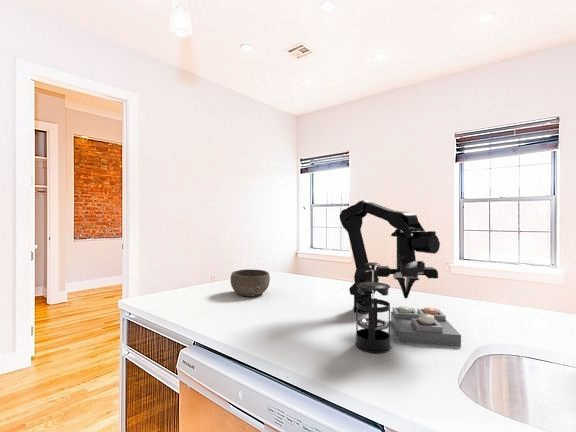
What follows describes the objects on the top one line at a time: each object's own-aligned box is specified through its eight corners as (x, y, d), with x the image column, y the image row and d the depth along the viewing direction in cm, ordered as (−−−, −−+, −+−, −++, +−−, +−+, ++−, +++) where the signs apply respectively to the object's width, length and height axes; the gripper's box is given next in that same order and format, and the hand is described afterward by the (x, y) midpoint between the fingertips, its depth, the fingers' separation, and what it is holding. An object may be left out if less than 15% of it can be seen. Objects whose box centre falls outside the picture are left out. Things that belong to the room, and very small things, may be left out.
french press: (390, 356, 83) (390, 266, 83) (353, 351, 86) (353, 264, 86) (390, 339, 94) (391, 260, 94) (357, 335, 97) (357, 259, 97)
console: (400, 341, 93) (400, 326, 93) (391, 320, 111) (391, 307, 111) (460, 345, 90) (460, 329, 90) (440, 323, 109) (440, 309, 109)
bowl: (268, 299, 139) (268, 275, 139) (226, 299, 139) (226, 275, 139) (270, 289, 156) (270, 269, 156) (234, 289, 156) (234, 268, 156)
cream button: (420, 323, 94) (420, 317, 94) (417, 319, 98) (417, 313, 98) (435, 324, 93) (435, 318, 93) (432, 320, 97) (432, 314, 97)
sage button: (399, 315, 105) (399, 309, 105) (397, 311, 110) (397, 305, 110) (413, 315, 105) (413, 310, 105) (410, 311, 109) (410, 306, 109)
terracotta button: (425, 316, 104) (425, 310, 104) (422, 312, 108) (422, 307, 108) (439, 317, 103) (439, 311, 103) (435, 313, 107) (435, 307, 107)
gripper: (379, 253, 101) (379, 303, 101) (443, 254, 97) (443, 306, 97) (375, 249, 112) (375, 294, 112) (433, 250, 108) (433, 297, 108)
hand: (405, 298), depth 107 cm, fingers closed
